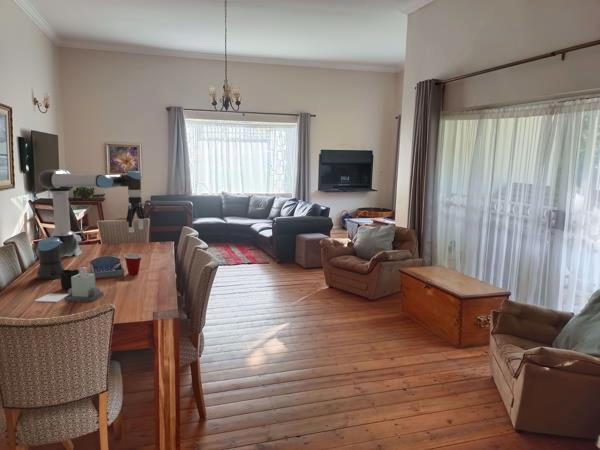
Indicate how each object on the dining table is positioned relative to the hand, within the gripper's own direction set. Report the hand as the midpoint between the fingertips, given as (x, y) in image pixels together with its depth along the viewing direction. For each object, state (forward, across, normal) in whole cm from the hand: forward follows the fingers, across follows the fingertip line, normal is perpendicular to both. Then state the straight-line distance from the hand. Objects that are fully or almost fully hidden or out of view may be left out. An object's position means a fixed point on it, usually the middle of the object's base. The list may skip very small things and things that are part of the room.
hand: (136, 230), depth 272 cm
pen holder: (+28, -34, +23) cm, 50 cm away
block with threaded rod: (+28, -49, +6) cm, 57 cm away
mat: (+28, -52, +22) cm, 63 cm away
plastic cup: (+28, +1, +3) cm, 28 cm away
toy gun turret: (+28, +48, +70) cm, 90 cm away
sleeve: (+26, -49, +6) cm, 56 cm away
